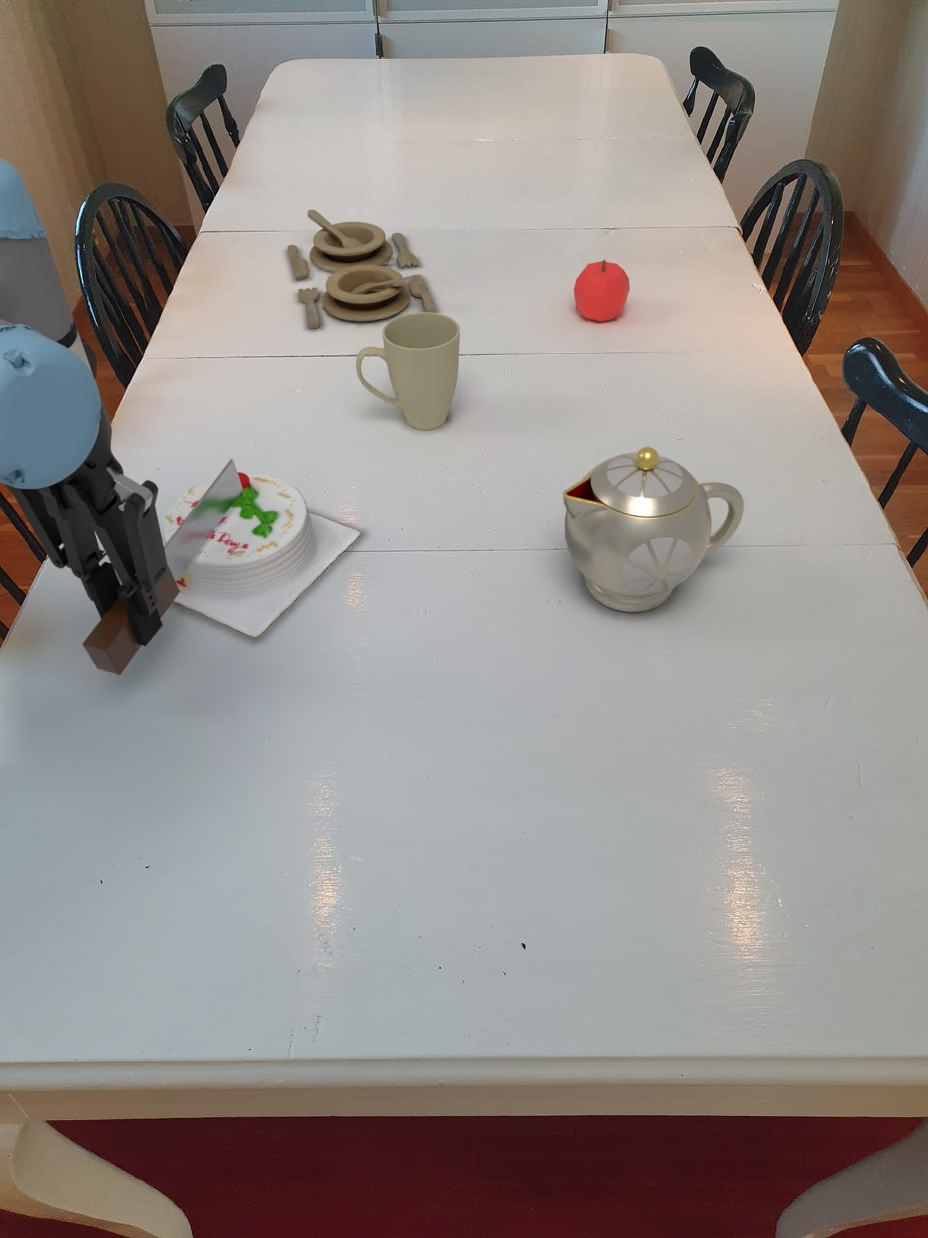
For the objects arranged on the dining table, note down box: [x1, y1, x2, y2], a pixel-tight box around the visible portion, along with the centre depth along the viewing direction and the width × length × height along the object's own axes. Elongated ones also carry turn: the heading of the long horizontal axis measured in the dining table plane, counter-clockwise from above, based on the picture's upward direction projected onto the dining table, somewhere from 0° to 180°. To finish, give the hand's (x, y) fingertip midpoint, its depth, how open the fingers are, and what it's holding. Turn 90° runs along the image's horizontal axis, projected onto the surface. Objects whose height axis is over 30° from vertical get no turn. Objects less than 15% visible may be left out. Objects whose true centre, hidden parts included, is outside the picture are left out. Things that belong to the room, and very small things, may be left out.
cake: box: [162, 471, 361, 639], centre depth 93 cm, size 18×18×8 cm
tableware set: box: [287, 209, 436, 330], centre depth 139 cm, size 30×20×6 cm, turn 14°
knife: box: [82, 458, 243, 676], centre depth 83 cm, size 24×2×4 cm, turn 160°
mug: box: [355, 311, 461, 431], centre depth 109 cm, size 11×10×12 cm
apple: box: [573, 259, 631, 323], centre depth 129 cm, size 8×8×8 cm
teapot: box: [562, 446, 745, 613], centre depth 85 cm, size 18×14×16 cm
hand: (135, 630), depth 80 cm, fingers closed on knife, 2 cm apart
